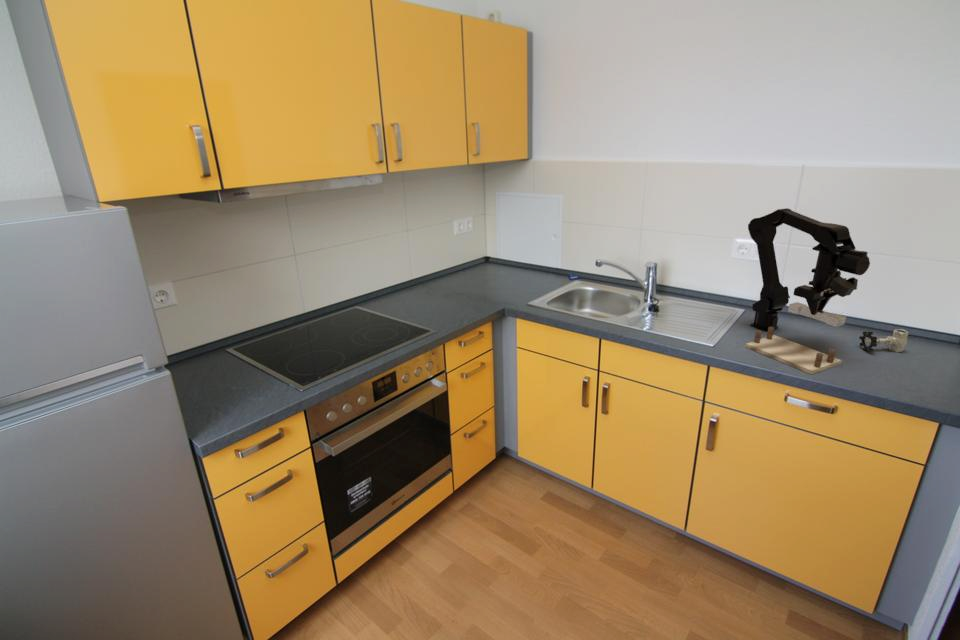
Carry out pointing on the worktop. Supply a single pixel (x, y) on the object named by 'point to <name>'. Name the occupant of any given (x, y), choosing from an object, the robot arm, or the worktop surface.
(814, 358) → the peg board
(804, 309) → the beige stepped post
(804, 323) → the worktop surface
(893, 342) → the valve
